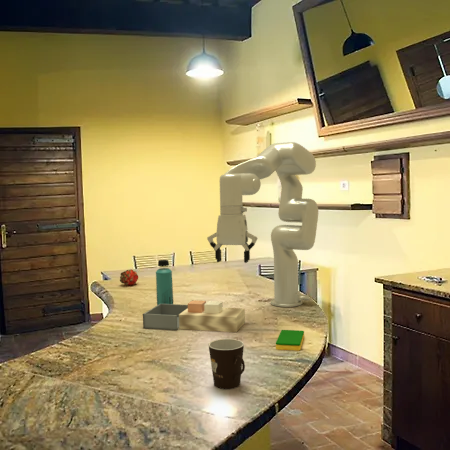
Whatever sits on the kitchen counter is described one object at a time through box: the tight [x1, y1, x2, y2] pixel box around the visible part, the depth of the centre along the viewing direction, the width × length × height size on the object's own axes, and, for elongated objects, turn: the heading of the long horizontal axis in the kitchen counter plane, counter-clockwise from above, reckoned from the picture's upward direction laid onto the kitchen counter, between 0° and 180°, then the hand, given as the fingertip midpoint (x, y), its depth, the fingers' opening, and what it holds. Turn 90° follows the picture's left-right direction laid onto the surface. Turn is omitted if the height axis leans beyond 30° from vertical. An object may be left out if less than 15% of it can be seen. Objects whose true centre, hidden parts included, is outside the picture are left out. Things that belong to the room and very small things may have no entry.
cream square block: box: [204, 300, 224, 314], centre depth 178 cm, size 5×5×3 cm
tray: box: [142, 303, 188, 331], centre depth 182 cm, size 12×15×5 cm
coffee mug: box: [208, 338, 246, 390], centre depth 125 cm, size 12×9×10 cm
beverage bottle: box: [155, 259, 175, 306], centre depth 199 cm, size 6×7×20 cm
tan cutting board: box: [178, 307, 246, 333], centre depth 178 cm, size 20×12×5 cm, turn 74°
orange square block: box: [187, 300, 207, 313], centre depth 179 cm, size 5×5×3 cm
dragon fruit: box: [119, 268, 139, 287], centre depth 253 cm, size 8×8×12 cm
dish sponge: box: [275, 329, 305, 352], centre depth 158 cm, size 7×14×2 cm, turn 166°
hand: (232, 261), depth 174 cm, fingers open, 9 cm apart
